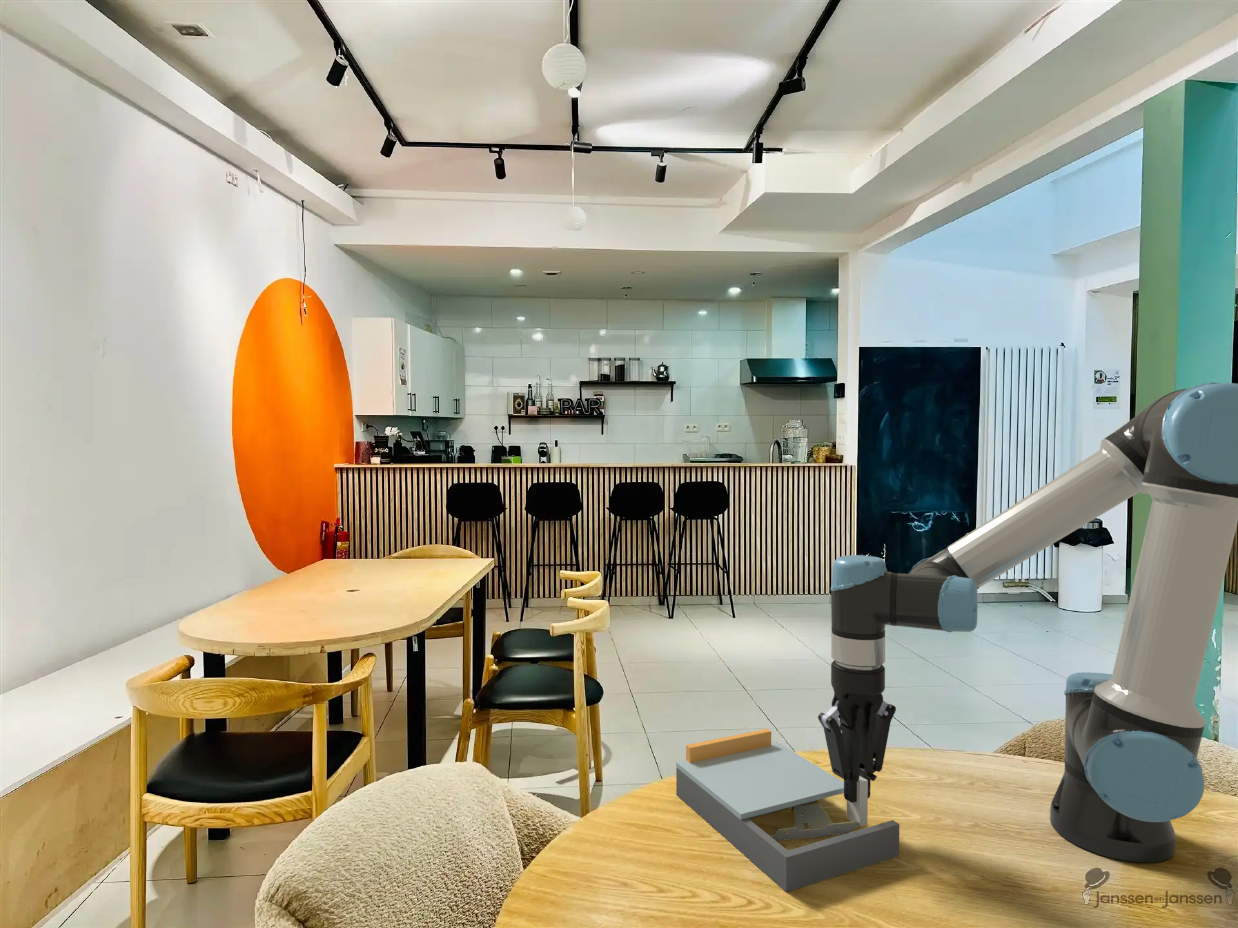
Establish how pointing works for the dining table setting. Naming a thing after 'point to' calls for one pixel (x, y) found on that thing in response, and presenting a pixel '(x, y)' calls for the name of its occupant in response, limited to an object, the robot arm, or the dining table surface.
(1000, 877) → the dining table surface
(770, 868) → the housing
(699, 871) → the dining table surface
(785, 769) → the lid
